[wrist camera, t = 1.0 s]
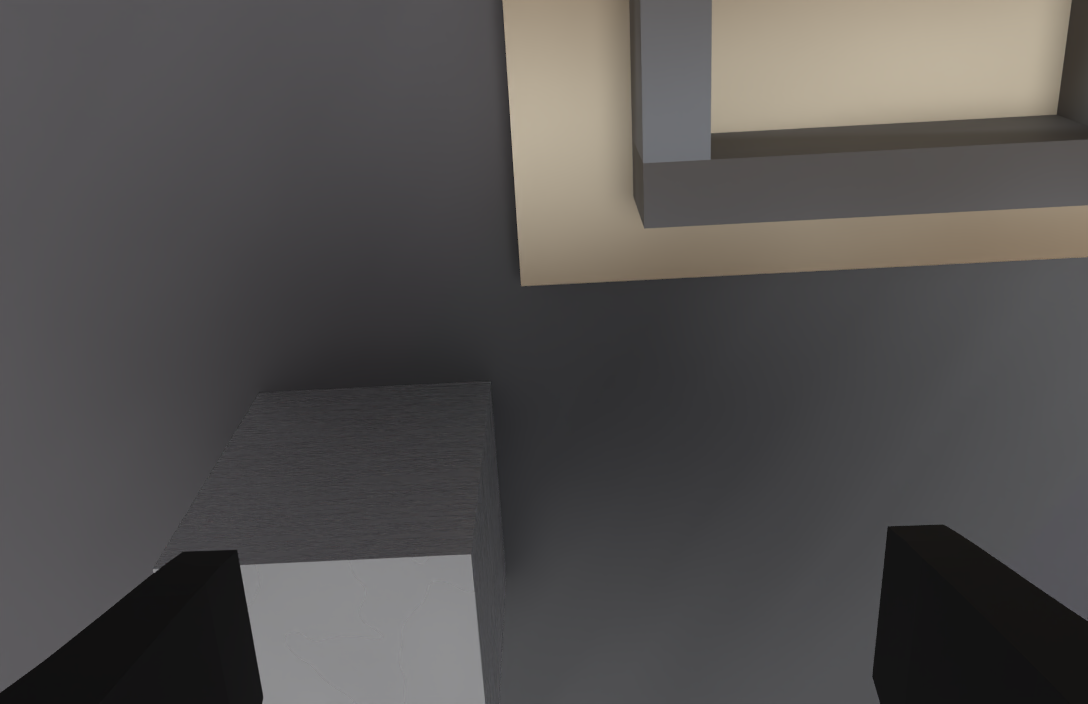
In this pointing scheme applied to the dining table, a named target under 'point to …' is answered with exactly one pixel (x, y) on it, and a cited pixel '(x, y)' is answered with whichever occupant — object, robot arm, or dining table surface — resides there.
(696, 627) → the dining table surface
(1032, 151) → the rail
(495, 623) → the block
